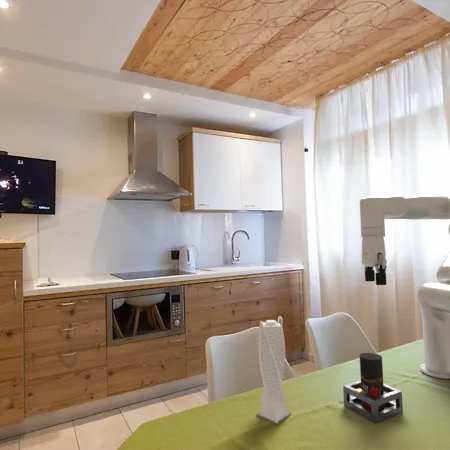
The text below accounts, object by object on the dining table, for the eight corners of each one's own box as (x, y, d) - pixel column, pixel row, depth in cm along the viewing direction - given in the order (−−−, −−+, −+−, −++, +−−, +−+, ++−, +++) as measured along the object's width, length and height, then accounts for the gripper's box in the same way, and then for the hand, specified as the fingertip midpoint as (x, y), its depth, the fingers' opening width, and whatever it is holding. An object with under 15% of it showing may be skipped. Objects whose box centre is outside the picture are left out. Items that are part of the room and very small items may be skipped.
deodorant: (387, 408, 97) (384, 355, 97) (380, 417, 92) (378, 361, 93) (366, 402, 101) (363, 351, 101) (358, 410, 96) (356, 357, 97)
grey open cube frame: (370, 397, 104) (369, 375, 104) (402, 413, 94) (401, 389, 94) (343, 406, 99) (342, 383, 99) (375, 424, 89) (374, 398, 89)
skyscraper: (295, 416, 94) (291, 314, 96) (278, 428, 89) (274, 320, 90) (271, 406, 100) (268, 310, 102) (253, 417, 95) (250, 315, 96)
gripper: (353, 233, 125) (355, 280, 124) (371, 232, 108) (373, 286, 107) (374, 232, 125) (376, 279, 124) (395, 231, 107) (398, 286, 107)
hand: (375, 283), depth 115 cm, fingers open, 9 cm apart
